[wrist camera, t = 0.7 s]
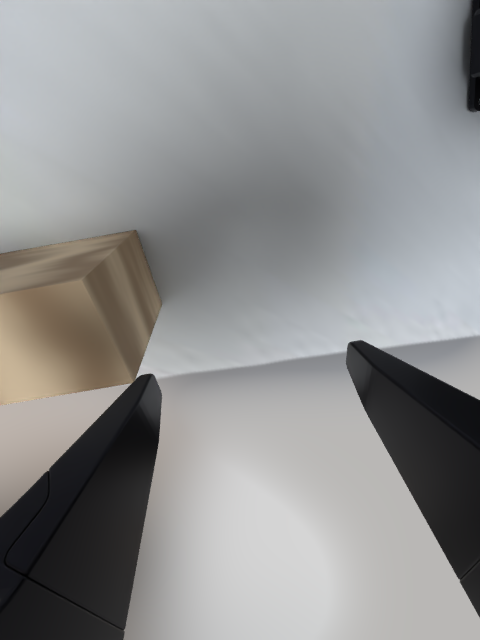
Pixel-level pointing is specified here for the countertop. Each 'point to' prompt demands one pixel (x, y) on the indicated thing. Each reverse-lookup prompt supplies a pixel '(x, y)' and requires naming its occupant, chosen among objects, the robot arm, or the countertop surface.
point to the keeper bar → (74, 316)
